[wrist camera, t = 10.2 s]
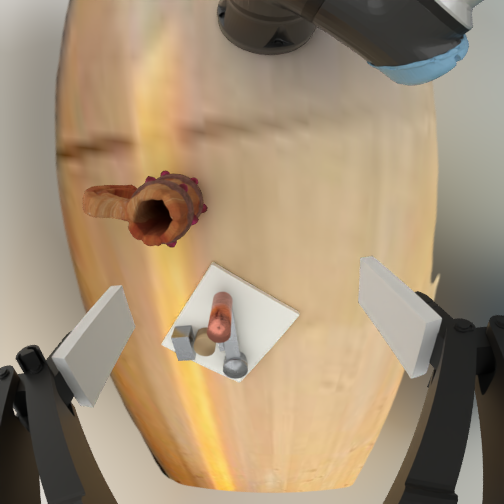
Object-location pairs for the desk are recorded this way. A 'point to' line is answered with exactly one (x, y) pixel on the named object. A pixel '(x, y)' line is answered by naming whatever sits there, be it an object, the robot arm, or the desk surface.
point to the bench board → (235, 317)
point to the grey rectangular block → (184, 342)
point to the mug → (150, 207)
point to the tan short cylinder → (204, 343)
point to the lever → (226, 335)
